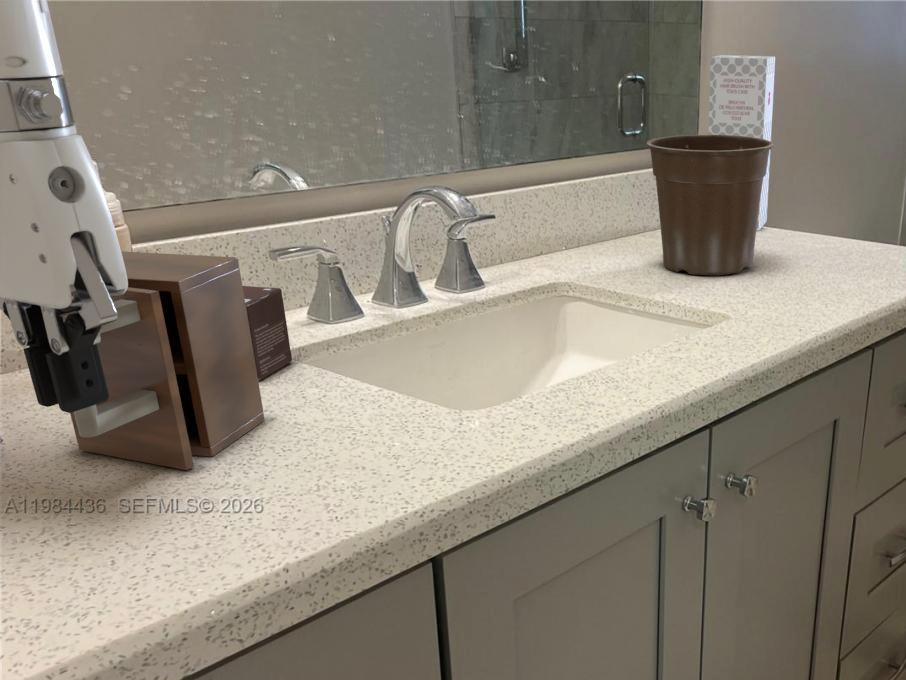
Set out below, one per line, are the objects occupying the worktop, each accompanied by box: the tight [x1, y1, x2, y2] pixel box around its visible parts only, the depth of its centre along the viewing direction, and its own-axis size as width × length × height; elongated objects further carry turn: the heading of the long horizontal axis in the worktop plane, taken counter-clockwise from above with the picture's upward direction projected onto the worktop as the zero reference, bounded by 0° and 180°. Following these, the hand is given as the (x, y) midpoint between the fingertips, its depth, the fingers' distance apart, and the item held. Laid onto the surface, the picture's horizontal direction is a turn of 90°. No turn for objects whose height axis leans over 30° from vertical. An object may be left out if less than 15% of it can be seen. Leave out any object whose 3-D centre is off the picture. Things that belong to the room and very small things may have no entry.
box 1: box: [242, 285, 293, 381], centre depth 97 cm, size 6×6×7 cm
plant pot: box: [646, 134, 774, 277], centre depth 137 cm, size 16×16×16 cm
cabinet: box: [121, 250, 265, 457], centre depth 81 cm, size 8×10×14 cm
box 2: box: [707, 54, 776, 232], centre depth 163 cm, size 8×8×25 cm
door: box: [62, 287, 195, 471], centre depth 73 cm, size 7×10×13 cm
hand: (74, 401), depth 69 cm, fingers closed
